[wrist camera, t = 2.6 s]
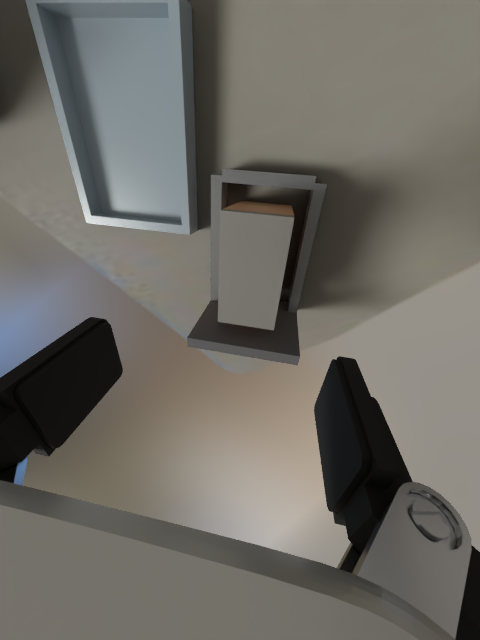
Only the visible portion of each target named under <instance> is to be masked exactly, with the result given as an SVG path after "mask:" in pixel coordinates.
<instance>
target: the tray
mask: <svg viewBox="0 0 480 640" xmlns="http://www.w3.org/2000/svg"><path fill="white" fill-rule="evenodd" d="M25 1H26V5H27V8H28V12H29V16H30V19H31V23H32V27H33V30H34V34H35V37H36V41H37V45H38V48H39V52H40V56H41V59H42V63H43V67H44V70H45V74H46V78H47V81H48V85H49V89H50V92H51V96H52V99H53V103H54V107H55V110H56V114H57V118H58V121H59V125H60V129H61V132H62V136H63V140H64V143H65V147H66V150H67V154H68V158H69V161H70V165H71V169H72V172H73V176H74V180H75V183H76V187H77V191H78V194H79V198H80V201H81V205H82V209H83V212H84V216H85V220H86V223H91V224H100V225H109V226H118V227H126V228H135V229H144V230H153V231H162V232H170V233H179V234H188V235H190V234H192V233H194V232H196V231H198V213H197V178H196V142H195V106H194V71H193V35H192V7H191V6H190V4H189V2H188V0H25Z"/></svg>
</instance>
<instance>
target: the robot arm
mask: <svg viewBox="0 0 480 640" xmlns="http://www.w3.org/2000/svg"><path fill="white" fill-rule="evenodd" d="M122 370H123V369H122V365H121V361H120V357H119V354H118V350H117V346H116V343H115V339H114V335H113V332H112V328H111V325H110V324H109V323H108V322H107V320H105V319H101V318H94V317H90V318H88V319H86V320H85V321H84V322H82V323H81V324H79V325H78V326H76V327H75V328H73V329H72V330H70V331H69V332H67V333H66V334H64V335H63V336H62V337H60V338H59V339H57V340H56V341H54V342H53V343H51V344H50V345H48V346H47V347H45V348H44V349H43V350H41V351H39V352H38V353H36V354H35V355H33V356H32V357H30V358H29V359H27V360H26V361H25V362H23V363H22V364H20V365H19V366H17V367H16V368H14V369H13V370H11V371H10V372H8V373H7V374H5V375H4V376H2V377H1V378H0V640H480V552H479V551H478V550H476V549H475V548H474V547H473V546H472V545H471V537H470V534H469V532H468V529H467V527H466V525H465V523H464V521H463V520H462V518H461V516H460V515H459V514H458V512H457V511H456V510H455V509H454V507H453V506H452V505H451V504H450V503H449V502H448V501H447V500H446V499H445V498H444V497H442V496H441V495H440V494H439V493H437V492H436V491H434V490H433V489H431V488H430V487H428V486H425V485H423V484H420V483H416V482H412V479H411V477H410V475H409V472H408V470H407V468H406V466H405V463H404V461H403V459H402V456H401V454H400V452H399V449H398V447H397V445H396V443H395V440H394V438H393V436H392V434H391V431H390V429H389V426H388V424H387V422H386V420H385V417H384V415H383V413H382V410H381V408H380V406H379V404H378V402H377V400H376V399H375V398H374V397H371V396H370V393H369V391H368V388H367V386H366V383H365V381H364V379H363V376H362V374H361V371H360V369H359V367H358V364H357V362H356V360H355V359H352V358H345V357H338V358H337V360H334V359H333V360H332V361H331V364H330V367H329V369H328V372H327V374H326V377H325V380H324V382H323V385H322V387H321V390H320V393H319V395H318V398H317V401H316V403H315V409H314V411H315V421H316V428H317V435H318V443H319V449H320V457H321V465H322V472H323V479H324V487H325V494H326V501H327V507H328V509H329V511H331V512H333V514H334V521H335V523H336V524H340V525H344V526H346V529H347V534H348V539H349V540H350V542H351V543H350V545H349V547H348V548H347V550H346V552H345V554H344V556H343V557H342V559H341V561H340V563H339V565H338V567H337V568H334V567H331V566H329V565H326V564H323V563H320V562H316V561H312V560H309V559H305V558H302V557H298V556H294V555H291V554H287V553H284V552H280V551H277V550H273V549H269V548H266V547H262V546H259V545H255V544H251V543H247V542H243V541H240V540H235V539H232V538H228V537H224V536H220V535H216V534H212V533H208V532H205V531H201V530H197V529H193V528H189V527H185V526H181V525H177V524H173V523H169V522H165V521H161V520H157V519H154V518H150V517H146V516H142V515H138V514H134V513H130V512H126V511H122V510H118V509H114V508H110V507H106V506H102V505H98V504H94V503H90V502H86V501H82V500H78V499H74V498H70V497H67V496H62V495H58V494H54V493H50V492H46V491H42V490H38V489H34V488H30V487H26V486H23V481H24V475H25V470H26V464H27V458H28V455H29V453H30V452H31V451H32V450H33V451H34V452H35V453H36V454H41V455H45V456H50V454H52V452H53V451H54V450H55V449H56V448H58V447H60V446H61V445H62V444H63V443H64V442H65V441H66V440H67V439H68V438H69V436H70V435H71V434H72V433H73V432H74V431H75V429H76V428H77V427H78V426H79V425H80V423H81V422H82V421H83V420H84V419H85V418H86V416H87V415H88V414H89V413H90V412H91V410H92V409H93V408H94V407H95V406H96V405H97V404H98V402H99V401H100V400H101V399H102V398H103V397H104V395H105V394H106V393H107V392H108V391H109V389H110V388H111V387H112V386H113V385H114V384H115V382H116V381H117V380H118V379H119V378H120V376H121V375H122Z"/></svg>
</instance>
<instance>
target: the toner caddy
mask: <svg viewBox="0 0 480 640" xmlns="http://www.w3.org/2000/svg"><path fill="white" fill-rule="evenodd" d="M293 223H294V213H293V209H292V205H282V204H271V203H261V202H250V201H240V202H238V203H236V204H233V205H231V206H229V207H226V208H224V209H222V210H220V236H219V286H218V322H223V323H229V324H236V325H242V326H248V327H255V328H261V329H268V330H274V327H275V321H276V316H277V310H278V305H279V300H280V294H281V289H282V283H283V278H284V272H285V267H286V261H287V256H288V251H289V245H290V240H291V234H292V229H293Z"/></svg>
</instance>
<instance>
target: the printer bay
mask: <svg viewBox="0 0 480 640" xmlns="http://www.w3.org/2000/svg"><path fill="white" fill-rule="evenodd" d="M315 181H316V176H309V175H296V174H283V173H271V172H258V171H246V170H233V169H222V175H211V301H210V303H209V304H208V306H207V307H206V309H205V311H204V312H203V314H202V315H201V317H200V318H199V320H198V322H197V323H196V325H195V326H194V328H193V330H192V331H191V333H190V334H189V336H188V337H187V341H188V346H189V347H194V348H200V349H206V350H211V351H217V352H223V353H229V354H235V355H241V356H247V357H252V358H258V359H264V360H270V361H276V362H282V363H288V364H293V365H298V362H299V358H300V351H299V338H298V326H297V309H298V305H299V301H300V296H301V292H302V288H303V284H304V280H305V275H306V271H307V267H308V263H309V259H310V254H311V250H312V246H313V242H314V238H315V233H316V229H317V225H318V221H319V217H320V212H321V208H322V204H323V200H324V196H325V191H326V187H327V184H319V183H315ZM228 183H237V184H249V185H260V186H272V187H284V188H295V189H307V190H311V191H310V195H309V200H308V205H307V210H306V215H305V220H304V225H303V229H302V234H301V239H300V244H299V249H298V254H297V258H296V263H295V268H294V273H293V278H292V283H291V287H290V292H289V297H288V302H284V301H279V305H278V310H277V316H276V321H275V327H274V330H268V329H261V328H255V327H248V326H242V325H236V324H229V323H223V322H218V286H219V236H220V210H222V209H224V208H226V207H227V193H228Z"/></svg>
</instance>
